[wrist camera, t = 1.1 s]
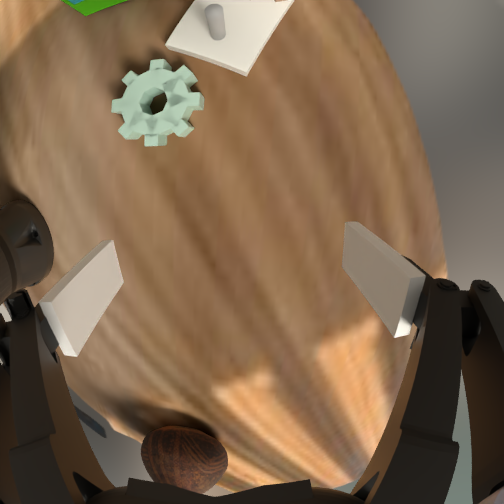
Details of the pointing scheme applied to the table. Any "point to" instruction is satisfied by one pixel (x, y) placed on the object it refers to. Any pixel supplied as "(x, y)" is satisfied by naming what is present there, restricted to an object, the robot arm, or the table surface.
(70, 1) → the toy car
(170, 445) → the brown wooden bulbous vase
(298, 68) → the table surface
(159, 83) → the loose gear
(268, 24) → the gear board
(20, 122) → the table surface
